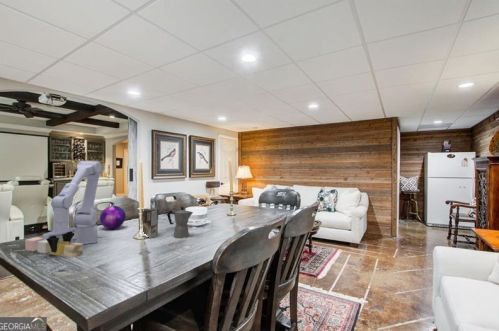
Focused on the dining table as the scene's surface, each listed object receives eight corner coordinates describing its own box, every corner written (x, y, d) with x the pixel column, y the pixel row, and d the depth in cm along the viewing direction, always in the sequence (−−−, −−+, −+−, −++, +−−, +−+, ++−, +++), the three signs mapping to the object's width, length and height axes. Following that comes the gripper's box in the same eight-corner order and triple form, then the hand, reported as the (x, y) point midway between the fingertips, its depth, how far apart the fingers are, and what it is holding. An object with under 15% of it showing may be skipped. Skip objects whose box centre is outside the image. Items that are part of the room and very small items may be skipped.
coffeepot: (192, 234, 159) (193, 205, 160) (192, 238, 150) (193, 208, 150) (167, 234, 156) (168, 205, 156) (165, 238, 147) (166, 208, 147)
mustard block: (60, 250, 121) (61, 240, 121) (68, 252, 120) (69, 241, 120) (50, 254, 116) (50, 243, 116) (58, 255, 115) (58, 244, 115)
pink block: (36, 247, 125) (36, 237, 125) (43, 248, 124) (44, 238, 124) (25, 250, 121) (25, 239, 121) (32, 251, 119) (33, 240, 119)
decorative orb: (93, 230, 160) (94, 207, 160) (110, 225, 175) (111, 203, 175) (114, 232, 157) (115, 208, 157) (129, 226, 172) (130, 205, 172)
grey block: (48, 249, 123) (48, 238, 123) (56, 250, 122) (56, 240, 122) (37, 252, 118) (37, 241, 118) (45, 253, 117) (45, 242, 117)
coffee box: (158, 235, 152) (159, 209, 153) (150, 238, 146) (151, 211, 146) (145, 234, 155) (146, 208, 156) (138, 236, 149) (139, 209, 149)
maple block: (73, 253, 119) (74, 242, 119) (82, 254, 117) (82, 243, 117) (63, 256, 114) (64, 245, 114) (72, 258, 113) (72, 247, 113)
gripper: (69, 217, 126) (68, 244, 126) (38, 223, 112) (36, 254, 112) (80, 219, 124) (79, 246, 124) (50, 225, 110) (48, 255, 110)
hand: (59, 250), depth 118 cm, fingers closed on mustard block, 5 cm apart
